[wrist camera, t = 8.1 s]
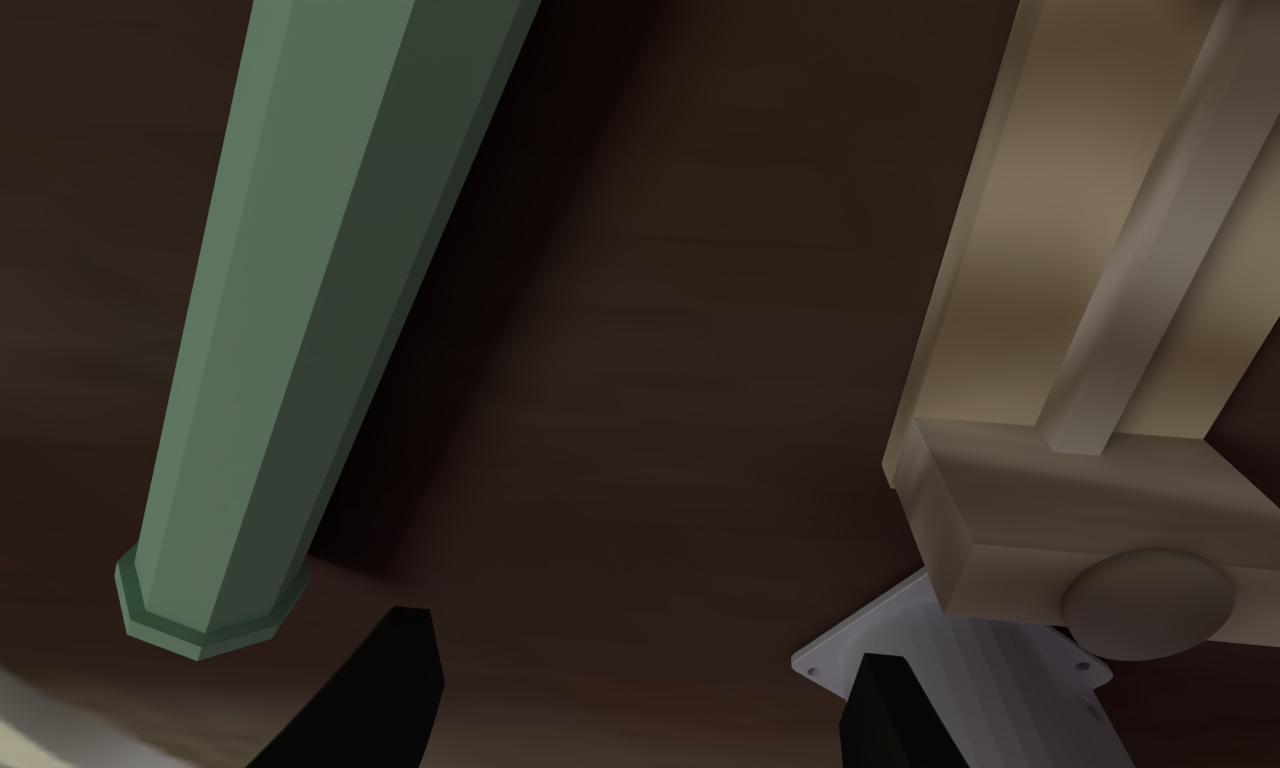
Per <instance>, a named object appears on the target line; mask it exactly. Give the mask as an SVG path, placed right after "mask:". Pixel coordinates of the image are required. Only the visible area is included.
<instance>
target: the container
mask: <svg viewBox="0 0 1280 768" xmlns="http://www.w3.org/2000/svg"><path fill="white" fill-rule="evenodd" d="M541 1H542V0H254V3H253V7H252V12H251V17H250V21H249V26H248V31H247V35H246V40H245V45H244V50H243V54H242V59H241V64H240V68H239V73H238V78H237V82H236V87H235V92H234V97H233V101H232V106H231V111H230V115H229V120H228V125H227V130H226V134H225V139H224V144H223V148H222V153H221V158H220V162H219V167H218V172H217V177H216V181H215V186H214V191H213V195H212V200H211V205H210V209H209V214H208V219H207V224H206V228H205V233H204V238H203V242H202V247H201V252H200V256H199V261H198V266H197V271H196V275H195V280H194V285H193V289H192V294H191V299H190V304H189V308H188V313H187V318H186V322H185V327H184V332H183V336H182V341H181V346H180V351H179V355H178V360H177V365H176V369H175V374H174V379H173V383H172V388H171V393H170V398H169V402H168V407H167V412H166V416H165V421H164V426H163V430H162V435H161V440H160V445H159V449H158V454H157V459H156V463H155V468H154V473H153V478H152V482H151V487H150V492H149V496H148V501H147V506H146V510H145V515H144V520H143V525H142V529H141V534H140V539H139V541H138V542H137V543H136V544H135V545H134V546H133V547H132V548H131V549H130V550H129V551H128V552H127V553H126V554H125V555H124V556H123V557H122V558H121V559H120V560H119V561H117V566H116V572H115V580H116V585H117V590H118V594H119V599H120V604H121V608H122V613H123V618H124V622H125V627H126V632H127V635H130V636H133V637H135V638H138V639H141V640H143V641H146V642H149V643H151V644H154V645H157V646H159V647H162V648H165V649H167V650H170V651H172V652H175V653H178V654H180V655H183V656H186V657H188V658H191V659H194V660H196V661H199V660H202V659H205V658H209V657H212V656H215V655H218V654H222V653H225V652H228V651H232V650H235V649H238V648H242V647H245V646H248V645H252V644H255V643H258V642H262V641H265V640H268V639H271V638H273V636H274V635H275V633H276V632H277V630H278V629H279V627H280V626H281V624H282V623H283V621H284V620H285V618H286V617H287V615H288V614H289V612H290V611H291V609H292V608H293V606H294V605H295V603H296V602H297V600H298V599H299V597H300V596H301V594H302V593H303V591H304V590H305V588H306V586H307V583H308V581H309V579H310V577H311V575H310V572H309V570H308V567H307V564H306V562H305V556H306V554H307V552H308V549H309V547H310V545H311V542H312V540H313V537H314V535H315V533H316V530H317V528H318V526H319V523H320V521H321V519H322V516H323V514H324V512H325V509H326V507H327V505H328V502H329V500H330V497H331V495H332V493H333V490H334V488H335V486H336V483H337V481H338V479H339V476H340V474H341V472H342V469H343V467H344V464H345V462H346V460H347V457H348V455H349V453H350V450H351V448H352V446H353V443H354V441H355V439H356V436H357V434H358V432H359V429H360V427H361V424H362V422H363V420H364V417H365V415H366V413H367V410H368V408H369V406H370V403H371V401H372V399H373V396H374V394H375V392H376V389H377V387H378V384H379V382H380V380H381V377H382V375H383V373H384V370H385V368H386V366H387V363H388V361H389V359H390V356H391V354H392V351H393V349H394V347H395V344H396V342H397V340H398V337H399V335H400V333H401V330H402V328H403V326H404V323H405V321H406V319H407V316H408V314H409V311H410V309H411V307H412V304H413V302H414V300H415V297H416V295H417V293H418V290H419V288H420V286H421V283H422V281H423V278H424V276H425V274H426V271H427V269H428V267H429V264H430V262H431V260H432V257H433V255H434V253H435V250H436V248H437V246H438V243H439V241H440V238H441V236H442V234H443V231H444V229H445V227H446V224H447V222H448V220H449V217H450V215H451V213H452V210H453V208H454V206H455V203H456V201H457V198H458V196H459V194H460V191H461V189H462V187H463V184H464V182H465V180H466V177H467V175H468V173H469V170H470V168H471V165H472V163H473V161H474V158H475V156H476V154H477V151H478V149H479V147H480V144H481V142H482V140H483V137H484V135H485V133H486V130H487V128H488V125H489V123H490V121H491V118H492V116H493V114H494V111H495V109H496V107H497V104H498V102H499V100H500V97H501V95H502V93H503V90H504V88H505V85H506V83H507V81H508V78H509V76H510V74H511V71H512V69H513V67H514V64H515V62H516V60H517V57H518V55H519V52H520V50H521V48H522V45H523V43H524V41H525V38H526V36H527V34H528V31H529V29H530V27H531V24H532V22H533V20H534V17H535V15H536V12H537V10H538V8H539V5H540V3H541Z"/></svg>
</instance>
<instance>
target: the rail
mask: <svg viewBox="0 0 1280 768" xmlns="http://www.w3.org/2000/svg"><path fill="white" fill-rule="evenodd" d="M1279 316H1280V0H1020V3H1019V6H1018V9H1017V13H1016V16H1015V19H1014V23H1013V26H1012V29H1011V33H1010V36H1009V39H1008V43H1007V46H1006V49H1005V53H1004V56H1003V59H1002V63H1001V66H1000V69H999V73H998V76H997V79H996V83H995V86H994V90H993V93H992V96H991V100H990V103H989V106H988V110H987V113H986V116H985V120H984V123H983V126H982V130H981V133H980V136H979V140H978V143H977V146H976V150H975V153H974V156H973V160H972V163H971V166H970V170H969V173H968V176H967V180H966V183H965V186H964V190H963V193H962V196H961V200H960V203H959V206H958V210H957V213H956V216H955V220H954V223H953V226H952V230H951V233H950V237H949V240H948V243H947V247H946V250H945V253H944V257H943V260H942V263H941V267H940V270H939V273H938V277H937V280H936V283H935V287H934V290H933V293H932V297H931V300H930V303H929V307H928V310H927V313H926V317H925V320H924V323H923V327H922V330H921V333H920V337H919V340H918V343H917V347H916V350H915V353H914V357H913V360H912V363H911V367H910V370H909V373H908V377H907V380H906V383H905V387H904V390H903V394H902V397H901V400H900V404H899V407H898V410H897V414H896V417H895V420H894V424H893V427H892V430H891V434H890V437H889V440H888V444H887V447H886V450H885V454H884V457H883V460H882V466H883V469H884V472H885V475H886V477H887V480H888V483H889V486H890V488H896V490H897V493H898V496H899V498H900V501H901V504H902V506H903V509H904V512H905V514H906V517H907V520H908V522H909V525H910V528H911V530H912V533H913V536H914V538H915V541H916V543H917V546H918V549H919V551H920V554H921V557H922V559H923V562H924V565H925V567H926V570H927V573H928V575H929V578H930V581H931V583H932V586H933V589H934V591H935V594H936V597H937V599H938V602H939V604H940V607H941V610H942V612H943V615H948V616H958V617H969V618H979V619H990V620H1000V621H1011V622H1021V623H1032V624H1042V625H1053V626H1063V627H1068V629H1069V630H1070V632H1071V634H1072V636H1073V637H1074V639H1075V640H1076V642H1077V643H1078V644H1079V645H1080V646H1081V647H1082V648H1084V649H1085V650H1086V651H1088V652H1090V653H1092V654H1094V655H1097V656H1100V657H1103V658H1107V659H1112V660H1120V661H1142V660H1151V659H1157V658H1162V657H1166V656H1170V655H1173V654H1177V653H1180V652H1182V651H1185V650H1187V649H1190V648H1192V647H1194V646H1196V645H1198V644H1200V643H1201V642H1203V641H1205V640H1211V641H1221V642H1232V643H1242V644H1253V645H1263V646H1274V647H1280V509H1279V508H1278V507H1277V506H1276V505H1275V504H1274V503H1273V502H1272V501H1271V500H1269V499H1268V498H1267V497H1266V496H1265V495H1264V494H1263V493H1262V492H1261V491H1260V490H1258V489H1257V488H1256V487H1255V486H1254V485H1253V484H1252V483H1251V482H1250V481H1249V480H1247V479H1246V478H1245V477H1244V476H1243V475H1242V474H1241V473H1240V472H1239V471H1238V470H1236V469H1235V468H1234V467H1233V466H1232V465H1231V464H1230V463H1229V462H1228V461H1227V460H1225V459H1224V458H1223V457H1222V456H1221V455H1220V454H1219V453H1218V452H1217V451H1216V450H1215V449H1213V448H1212V447H1211V446H1210V445H1209V444H1208V443H1207V442H1206V441H1205V440H1204V437H1205V435H1206V434H1207V432H1208V431H1209V429H1210V427H1211V426H1212V424H1213V423H1214V421H1215V419H1216V418H1217V416H1218V414H1219V413H1220V411H1221V410H1222V408H1223V406H1224V405H1225V403H1226V402H1227V400H1228V398H1229V397H1230V395H1231V394H1232V392H1233V390H1234V389H1235V387H1236V385H1237V384H1238V382H1239V381H1240V379H1241V377H1242V376H1243V374H1244V373H1245V371H1246V369H1247V368H1248V366H1249V364H1250V363H1251V361H1252V360H1253V358H1254V356H1255V355H1256V353H1257V352H1258V350H1259V348H1260V347H1261V345H1262V344H1263V342H1264V340H1265V339H1266V337H1267V335H1268V334H1269V332H1270V331H1271V329H1272V327H1273V326H1274V324H1275V323H1276V321H1277V319H1278V318H1279Z"/></svg>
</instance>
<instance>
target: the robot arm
mask: <svg viewBox="0 0 1280 768" xmlns="http://www.w3.org/2000/svg"><path fill="white" fill-rule="evenodd" d="M791 663H792V668H793V669H794V670H795V671H796V672H798V673H800V674H802V675H803V676H805V677H807V678H809V679H810V680H812V681H814V682H816V683H818V684H819V685H821V686H823V687H825V688H826V689H828V690H830V691H832V692H833V693H835V694H837V695H839V696H840V697H842V698H844V699H846V706H845V709H844V712H843V715H842V718H841V721H840V723H839V729H840V740H841V750H842V760H843V768H1135V766H1134V764H1133V762H1132V760H1131V758H1130V757H1129V755H1128V753H1127V751H1126V749H1125V748H1124V746H1123V744H1122V742H1121V740H1120V738H1119V737H1118V735H1117V733H1116V731H1115V729H1114V728H1113V726H1112V724H1111V722H1110V720H1109V718H1108V717H1107V715H1106V713H1105V711H1104V709H1103V708H1102V706H1101V704H1100V702H1099V700H1098V698H1097V697H1096V695H1095V693H1094V691H1093V689H1095V688H1097V687H1099V686H1101V685H1103V684H1105V683H1107V682H1109V681H1110V680H1111V678H1112V677H1113V673H1112V671H1111V670H1110V668H1109V666H1108V665H1107V664H1106V663H1105V662H1103V661H1102V660H1100V659H1099V658H1097V657H1096V656H1094V655H1093V654H1091V653H1090V652H1088V651H1086V650H1085V649H1084V648H1082V647H1081V646H1080V645H1078V644H1077V643H1075V642H1074V641H1072V640H1071V639H1069V638H1068V637H1066V636H1065V635H1063V634H1062V633H1060V632H1059V631H1057V630H1056V629H1055V628H1053V627H1052V626H1050V625H1042V624H1032V623H1021V622H1011V621H1000V620H990V619H979V618H969V617H958V616H948V615H943V612H942V610H941V607H940V604H939V602H938V599H937V597H936V594H935V591H934V589H933V586H932V583H931V581H930V578H929V575H928V573H927V570H926V567H925V566H924V567H923V568H921V569H920V570H918V571H917V572H915V573H914V574H912V575H911V576H909V577H908V578H906V579H905V580H903V581H902V582H900V583H899V584H897V585H896V586H894V587H893V588H891V589H890V590H888V591H887V592H885V593H884V594H883V595H881V596H880V597H878V598H877V599H875V600H874V601H872V602H871V603H869V604H868V605H866V606H865V607H863V608H862V609H860V610H859V611H857V612H856V613H854V614H853V615H851V616H850V617H848V618H847V619H845V620H844V621H842V622H841V623H839V624H838V625H836V626H835V627H833V628H832V629H830V630H829V631H827V632H826V633H824V634H823V635H821V636H820V637H818V638H817V639H815V640H814V641H812V642H811V643H809V644H808V645H806V646H805V647H803V648H802V649H800V650H799V651H798V652H796V653H795V654H794V655H793V656H792V657H791ZM444 685H445V682H444V677H443V672H442V667H441V662H440V657H439V652H438V647H437V643H436V638H435V633H434V628H433V623H432V618H431V613H430V609H419V608H409V607H399V606H394V607H393V608H391V609H390V610H389V611H388V612H387V613H386V614H385V615H384V617H383V618H382V619H381V620H380V621H379V623H378V624H377V625H376V626H375V627H374V628H373V630H372V631H371V632H370V633H369V634H368V635H367V637H366V638H365V639H364V640H363V641H362V642H361V644H360V645H359V646H358V647H357V648H356V649H355V651H354V652H353V653H352V654H351V655H350V656H349V657H348V659H347V660H346V661H345V662H344V663H343V664H342V665H341V667H340V668H339V669H338V670H337V671H336V672H335V673H334V674H333V676H332V677H331V678H330V679H329V680H328V681H327V682H326V683H325V685H324V686H323V687H322V688H321V689H320V690H319V691H318V692H317V693H316V694H315V695H314V696H313V698H312V699H311V700H310V701H309V702H308V703H307V704H306V705H305V706H304V707H303V708H302V709H301V710H300V712H299V713H298V714H297V715H296V716H295V717H294V718H293V719H292V720H291V721H290V722H289V723H288V724H287V726H286V727H285V728H284V729H283V730H282V731H281V732H280V733H279V734H278V735H277V736H276V737H275V738H274V739H273V740H272V741H271V742H270V743H269V744H268V745H267V746H266V747H265V748H264V749H263V750H262V751H261V752H260V753H259V754H258V755H257V756H256V757H255V758H254V759H253V760H252V761H251V762H250V763H249V764H248V765H247V766H246V767H245V768H419V765H420V763H421V760H422V757H423V755H424V752H425V750H426V747H427V744H428V740H429V737H430V734H431V730H432V727H433V724H434V720H435V717H436V713H437V710H438V706H439V703H440V699H441V695H442V692H443V688H444Z"/></svg>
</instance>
